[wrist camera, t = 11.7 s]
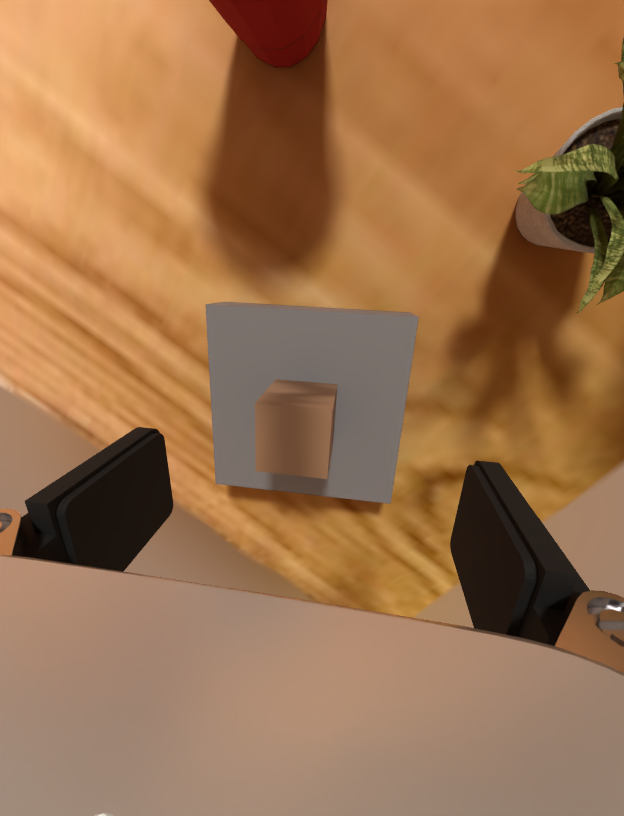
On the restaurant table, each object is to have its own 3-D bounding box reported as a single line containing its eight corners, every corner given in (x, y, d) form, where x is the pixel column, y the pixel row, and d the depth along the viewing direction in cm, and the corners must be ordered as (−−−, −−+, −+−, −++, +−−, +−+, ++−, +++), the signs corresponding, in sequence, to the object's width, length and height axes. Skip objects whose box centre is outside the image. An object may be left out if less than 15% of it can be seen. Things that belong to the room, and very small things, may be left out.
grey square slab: (410, 312, 28) (418, 317, 25) (386, 479, 34) (390, 503, 30) (224, 301, 30) (205, 304, 26) (230, 462, 36) (215, 483, 32)
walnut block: (337, 384, 27) (332, 410, 22) (333, 441, 29) (327, 479, 23) (275, 379, 28) (255, 403, 22) (275, 435, 29) (255, 471, 24)
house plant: (448, 337, 29) (550, 397, 14) (420, 148, 25) (521, -70, 9) (645, 289, 26) (1056, 298, 11) (650, 66, 22) (1333, -439, 7)
